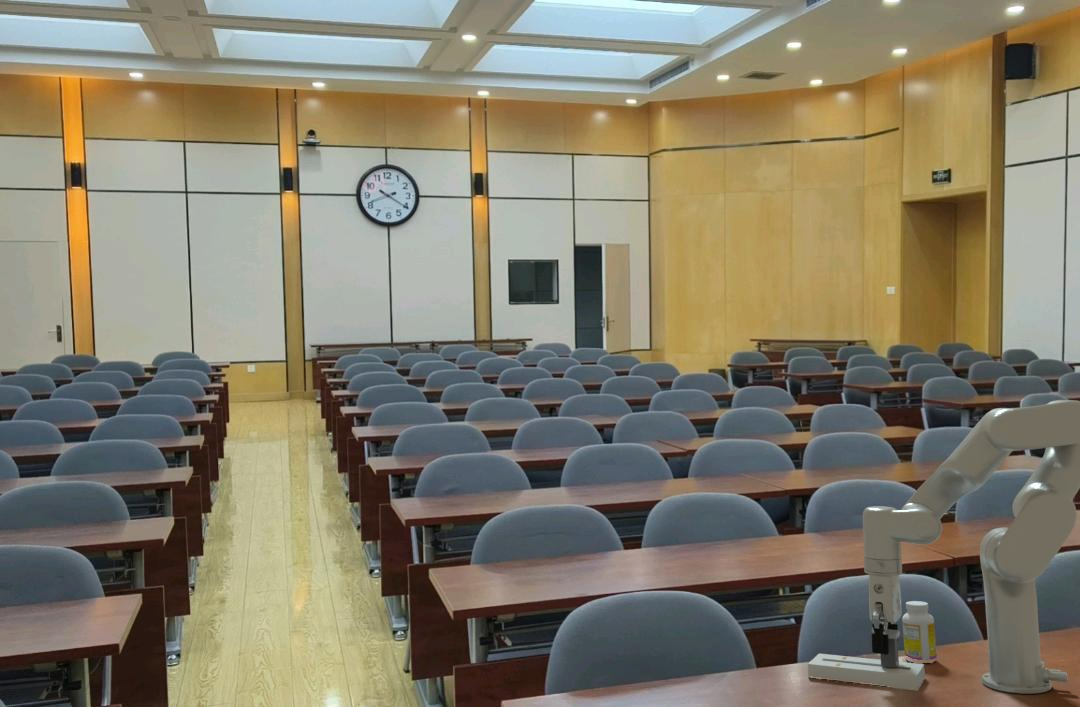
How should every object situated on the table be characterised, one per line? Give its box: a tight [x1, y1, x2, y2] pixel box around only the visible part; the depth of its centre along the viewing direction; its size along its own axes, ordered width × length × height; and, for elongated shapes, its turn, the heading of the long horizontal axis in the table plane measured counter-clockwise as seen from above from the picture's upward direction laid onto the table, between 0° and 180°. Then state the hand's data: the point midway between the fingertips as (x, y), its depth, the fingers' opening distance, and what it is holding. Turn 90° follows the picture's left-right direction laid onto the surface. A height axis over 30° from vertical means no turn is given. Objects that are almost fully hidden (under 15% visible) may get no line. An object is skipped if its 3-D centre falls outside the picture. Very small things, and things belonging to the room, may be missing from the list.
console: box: [807, 653, 926, 692], centre depth 197 cm, size 22×9×3 cm, turn 59°
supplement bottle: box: [901, 600, 938, 661], centre depth 209 cm, size 7×7×13 cm
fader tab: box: [879, 629, 901, 668], centre depth 195 cm, size 4×4×7 cm
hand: (885, 647), depth 195 cm, fingers open, 9 cm apart
